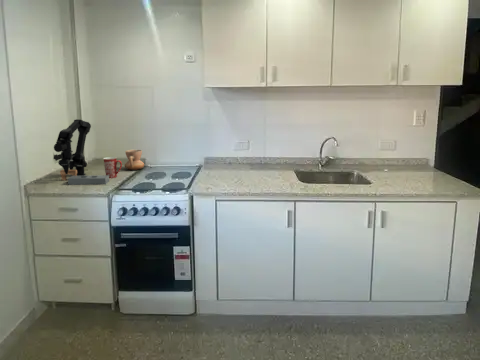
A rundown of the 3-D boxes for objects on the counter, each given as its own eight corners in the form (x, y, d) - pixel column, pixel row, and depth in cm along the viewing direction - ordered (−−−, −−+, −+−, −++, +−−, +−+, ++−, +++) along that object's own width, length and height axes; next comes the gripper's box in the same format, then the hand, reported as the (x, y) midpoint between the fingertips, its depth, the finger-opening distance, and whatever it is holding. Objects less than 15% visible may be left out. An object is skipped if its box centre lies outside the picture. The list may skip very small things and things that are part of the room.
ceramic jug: (128, 166, 345) (127, 148, 342) (147, 167, 344) (146, 148, 341) (120, 171, 328) (119, 152, 325) (140, 171, 327) (139, 152, 323)
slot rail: (72, 181, 296) (72, 175, 295) (109, 181, 297) (108, 175, 296) (68, 184, 288) (67, 178, 287) (105, 184, 288) (105, 178, 287)
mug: (102, 178, 306) (100, 158, 303) (108, 175, 315) (107, 156, 312) (119, 178, 304) (118, 159, 301) (125, 176, 313) (123, 157, 310)
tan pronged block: (62, 179, 303) (62, 169, 302) (77, 179, 303) (76, 169, 302) (61, 180, 300) (60, 170, 298) (76, 180, 300) (75, 170, 299)
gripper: (59, 147, 306) (61, 169, 309) (49, 152, 288) (51, 175, 291) (76, 147, 306) (77, 169, 310) (66, 151, 288) (68, 175, 292)
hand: (68, 172), depth 301 cm, fingers open, 9 cm apart
